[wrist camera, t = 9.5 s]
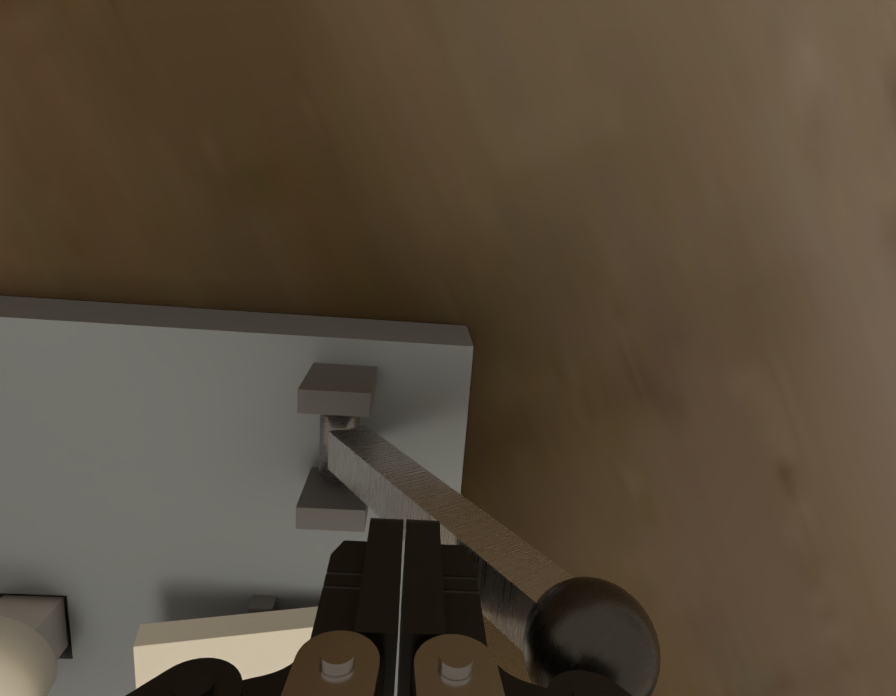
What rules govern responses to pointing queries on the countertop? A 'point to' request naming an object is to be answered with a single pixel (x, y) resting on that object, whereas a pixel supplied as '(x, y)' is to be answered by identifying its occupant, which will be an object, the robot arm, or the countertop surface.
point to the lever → (502, 567)
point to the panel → (197, 459)
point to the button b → (30, 643)
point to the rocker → (224, 642)
